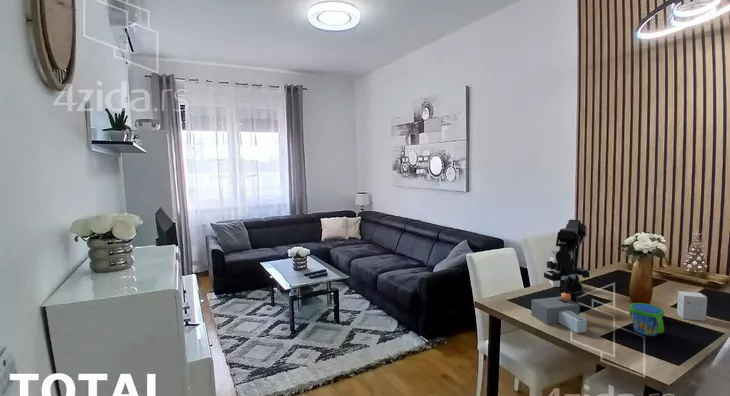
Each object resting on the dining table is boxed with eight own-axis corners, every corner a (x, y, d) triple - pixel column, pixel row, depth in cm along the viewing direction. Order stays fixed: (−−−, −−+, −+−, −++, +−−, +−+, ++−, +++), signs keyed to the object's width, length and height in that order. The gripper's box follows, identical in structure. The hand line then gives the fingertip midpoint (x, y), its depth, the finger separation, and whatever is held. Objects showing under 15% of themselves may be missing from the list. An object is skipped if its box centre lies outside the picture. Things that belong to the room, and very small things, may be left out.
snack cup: (673, 343, 136) (675, 316, 135) (642, 341, 137) (643, 315, 136) (648, 324, 151) (649, 300, 150) (620, 323, 153) (621, 299, 152)
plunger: (566, 299, 162) (566, 292, 162) (572, 302, 159) (572, 295, 158) (559, 300, 162) (559, 293, 161) (565, 303, 158) (565, 296, 158)
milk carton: (567, 287, 196) (568, 253, 194) (553, 286, 197) (554, 252, 196) (562, 283, 203) (564, 249, 201) (549, 282, 204) (550, 249, 202)
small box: (699, 316, 158) (700, 292, 157) (706, 321, 153) (707, 297, 151) (676, 313, 160) (677, 290, 159) (682, 319, 155) (684, 295, 154)
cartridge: (553, 312, 164) (553, 301, 163) (586, 331, 146) (586, 318, 145) (544, 313, 163) (544, 302, 162) (576, 333, 145) (577, 320, 144)
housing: (562, 311, 166) (562, 296, 166) (579, 320, 156) (579, 304, 156) (531, 314, 163) (531, 299, 162) (546, 324, 153) (547, 308, 152)
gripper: (571, 252, 168) (570, 285, 170) (535, 255, 164) (535, 289, 166) (591, 258, 157) (589, 293, 159) (553, 262, 153) (552, 298, 155)
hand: (566, 293), depth 160 cm, fingers closed
